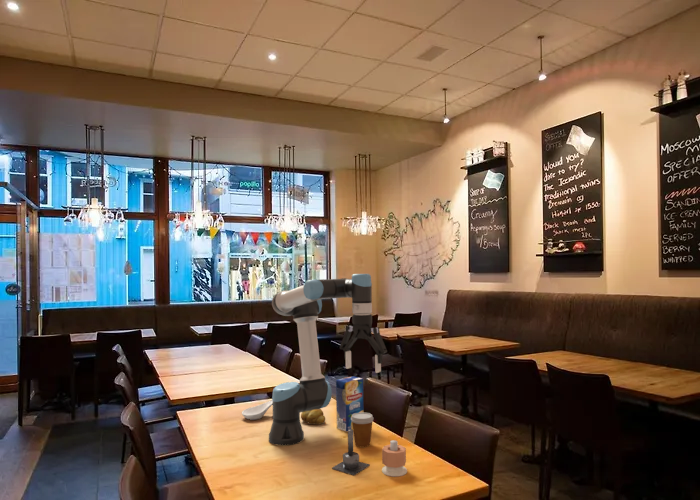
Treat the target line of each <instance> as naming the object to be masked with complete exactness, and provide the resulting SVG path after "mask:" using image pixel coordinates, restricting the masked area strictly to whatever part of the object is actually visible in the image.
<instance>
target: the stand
mask: <svg viewBox="0 0 700 500" xmlns="http://www.w3.org/2000/svg"><path fill="white" fill-rule="evenodd" d="M370 465H371V464H369V463H366V462H362V461H360V454H359V453H358V452H355V451H354V433H353V430H352V429H349V430H348V431H347V451H346V452H344V453H342V461H341V462H339V463H337V464H336V465H334V466H333V467H331V469H332V470H335V471H338V472H341V473H345V474H348V475H352V476H356V475H357V474H359V473H361V472H363V471H365V470H366V469H367V468H369V467H370Z"/></svg>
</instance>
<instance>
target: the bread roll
mask: <svg viewBox="0 0 700 500" xmlns="http://www.w3.org/2000/svg"><path fill="white" fill-rule="evenodd" d="M300 419H301V420H302V422H304V423H308V424H309V425H310V424H311V425H314V424H316V425H320V424H321V425H322V424H325V422H326V417H325V415H324V411H323V410H322V408H320V409H315V410H310V411H305V412H300Z"/></svg>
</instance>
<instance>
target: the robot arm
mask: <svg viewBox="0 0 700 500" xmlns="http://www.w3.org/2000/svg"><path fill="white" fill-rule="evenodd" d="M372 285H373V283H372V276H371V274H370V273H353V274H351V278H331V279H329V278H327V279H317V278H316V279H315V278H314V279H307V280H306V281H305V283H304V285H300V286H298V287H295V288H293V289H290V290H281V291H279V292H277V293H276V294H274V296H273V297H272V301H271V306H272V308H273V310H274V312H275V313H277V314H278V315H281V316H283V317H284V316H285V317H291V316H292V318H293V319H292V321H294V322H295V323H296V325H297V326H296V327H297V328H296V329H297V337H298V346H299V355H300V356H299V357H300V365H301V378H299V382H297V381H288V382H283V383H280V384H277V385H276V386H274V387H273V390H272V397H271V400H273V405H272V424H271V426H270V429H269V430H270V431H269V434H268V442H269V443H270V444H272V445H275V446H292V445H296V444H299V443H301V442H303V441H304V439H305V432H304V430H303V427H302V423H301V420H300V419H301V413H302V412H305V411H310V410H315V409H323V408H326V407H328V405H330V402H331V401H332V395H333V391H332V390H333V389H332V386H331V384H330V382H329V381H328V380H326V377H325V376H324V375H323V374H322V371H321V369H322V368H321V361H320V352H319V351H320V350H319V342H318V332H317V323H316V321H317V320H318V319H319V314H320V313H321V312H322V307H323V303H322V300H323V299H324V300H325V299H326V300H327V299H344V298H350V299H351V303H352V304H351V306H352V309H351V311H352V312H351V313H352V316H351V317H352V320H351V321H352V324H353V325H351V324H350V325H346V326H345V333H344V335H343V338H342V340H341V342H340V345H339V350H343V360H345V369H347V370H348V369H352V351H351V348H352V347H353V345H354V344H355V343H356V341H357V340H359V339H362V340H366V341H368V343H369V344H370V346H371V347H372V349H373V350H374V352H375V353H376V354H375V355H374V365H375V366H374V367H375V368H374V369H375V373H376V374H378V373H381V372H382V364H383V359H384V358H383V355H384V354H386V353H388V350H387V347H386V345H385V342H384V340H383V338H382V335H381V332H380V327H373V326H372V324H373V315H372V313H373V304H372V302H373V301H372V300H373V299H372V298H373V297H372V296H373V295H372V293H373V292H372V289H373V287H372ZM352 332H353V334H352ZM351 335H352V336H351Z"/></svg>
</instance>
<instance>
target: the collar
mask: <svg viewBox="0 0 700 500" xmlns="http://www.w3.org/2000/svg"><path fill="white" fill-rule="evenodd" d="M406 454H407V449H406V447H405V446H403V445H401V444H398V451H390V444H386V445H384V446H383V447H382V448H381V457H382V459H381V460H382V462H381V463H382V464H383V465H384V466H387V467H394V468H398V467H401V466H404V467H405V465H406V463H407V459H406V458H407V455H406Z"/></svg>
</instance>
